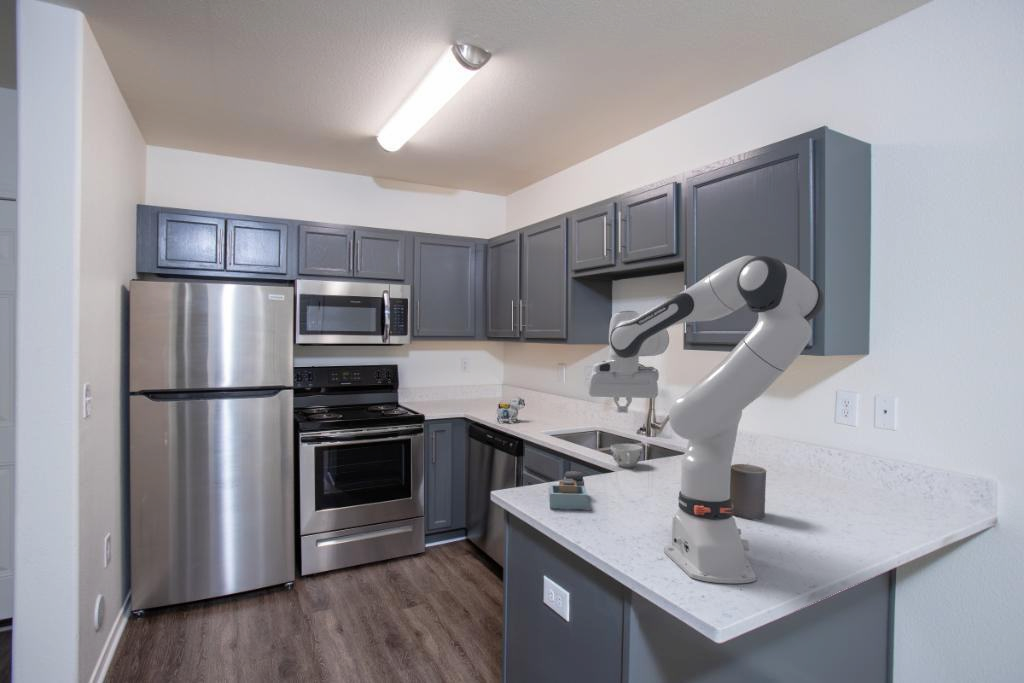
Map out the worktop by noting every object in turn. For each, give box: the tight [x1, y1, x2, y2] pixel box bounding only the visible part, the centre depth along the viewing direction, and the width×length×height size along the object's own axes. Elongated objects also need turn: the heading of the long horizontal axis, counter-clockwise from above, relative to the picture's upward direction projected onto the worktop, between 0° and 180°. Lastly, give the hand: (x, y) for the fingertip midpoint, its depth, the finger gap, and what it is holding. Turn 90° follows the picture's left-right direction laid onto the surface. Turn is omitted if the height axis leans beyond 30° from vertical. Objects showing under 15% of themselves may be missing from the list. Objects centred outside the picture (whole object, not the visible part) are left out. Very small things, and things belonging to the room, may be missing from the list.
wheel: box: [564, 470, 584, 481], centre depth 169 cm, size 6×6×5 cm
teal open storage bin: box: [548, 476, 592, 510], centre depth 164 cm, size 16×12×6 cm
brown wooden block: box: [558, 478, 577, 494], centre depth 161 cm, size 6×5×6 cm
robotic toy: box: [495, 396, 526, 424], centre depth 309 cm, size 13×17×15 cm
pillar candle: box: [730, 463, 767, 520], centre depth 155 cm, size 10×10×15 cm
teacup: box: [610, 443, 644, 469], centre depth 209 cm, size 15×12×8 cm
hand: (622, 412), depth 156 cm, fingers closed
